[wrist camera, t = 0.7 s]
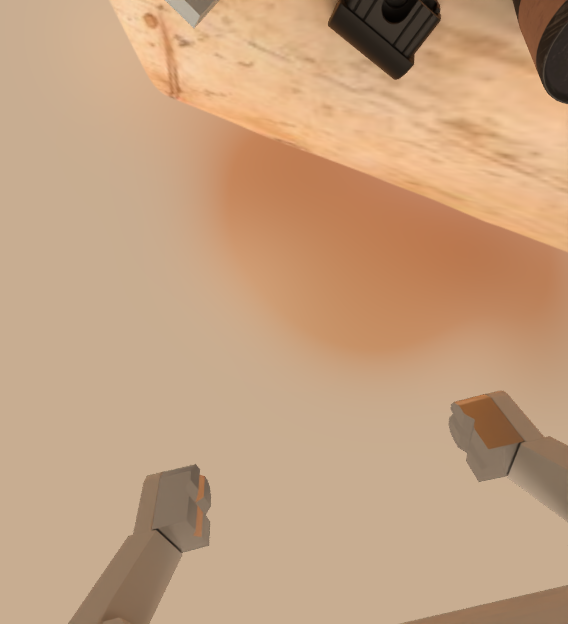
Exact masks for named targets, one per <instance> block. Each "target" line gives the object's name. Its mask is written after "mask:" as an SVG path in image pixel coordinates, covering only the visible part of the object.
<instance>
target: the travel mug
mask: <svg viewBox="0 0 568 624" xmlns="http://www.w3.org/2000/svg"><path fill="white" fill-rule="evenodd" d="M513 3H514V7H515V11H516V15H517V19H518V23H519V26H520V29H521V32H522V34H523V37H524V39H525V42H526V44H527V47H528V49H529V52H530V54H531V57H532V59H533V62H534V64H535V67H536V69H537V71H538V74H539V76H540V79H541V81H542V84H543V86H544V88H545V90H546V91H547V93H548V94H549V95H550V96H551V97H552V98H554V99H555V100H557V101H559V102H562V103H566V104H568V0H513Z"/></svg>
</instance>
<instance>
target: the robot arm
mask: <svg viewBox="0 0 568 624" xmlns="http://www.w3.org/2000/svg"><path fill="white" fill-rule="evenodd" d="M451 411H452V412H453V415H452V416H451V417H450V418H449V428H450V432H451V435H452V437H453V439H454V441H455V443H456V444H457V446H458V447H459V448H460V449H462V450H463V451H465V452H467V459H466V461H467V463H468V464H469V466H470V468H471V469H472V471H473V473H474V475H475V476H476V478H477V480H478V481H479V482H481V481H486V480H491V479H495V478H500V477H505V476H508V478H509V479H510V480H511V481H513V482H514V483H515V484H517V485H518V486H519V487H521V488H522V489H524V490H525V491H526V492H528V493H529V494H530V495H532V496H533V497H535V498H536V499H537V500H539V501H540V502H541V503H543V504H544V505H545V506H547V507H548V508H550V509H551V510H552V511H554V512H555V513H556V514H558V515H559V516H560V517H562V518H563V519H564V520H566V521H567V522H568V446H567V445H566V444H564V443H562V442H560V441H558V440H556V439H554V438H552V437H550V436H548V437H543V435H542V434H541V433H540V431H539V430H538V429H537V428H536V427H535V426H534V424H533V423H532V422H531V421H530V420H529V418H528V417H527V416H526V415H525V414H524V413H523V411H522V410H521V409H520V408H519V407H518V405H517V404H516V403H515V402H514V401H513V400H512V399H511V397H510V396H509V395H508V394H507V393H506V392H504V391H497V392H493V393H488V394H483V395H480V396H475V397H472V398H468V399H464V400H460V401H456V402H453V403H452V404H451ZM210 506H211V494H210V486H209V483H208V481H207V479H206V477H205V476H202V475H200V469H199V468H198V467H197V465H196V464H195V465H190V466H186V467H182V468H178V469H174V470H170V471H165V472H160V473H156V474H152V475H148V476H147V477H146V479H145V481H144V483H143V489H142V493H141V498H140V503H139V508H138V513H137V518H136V523H135V528H134V533H133V535H131V536H128V537H127V539H126V540H125V542H124V543H123V545H122V546H121V548H120V549H119V551H118V552H117V553H116V555H115V556H114V558H113V559H112V561H111V562H110V564H109V565H108V566H107V568H106V569H105V571H104V572H103V574H102V575H101V577H100V578H99V580H98V581H97V583H96V584H95V585H94V587H93V588H92V590H91V591H90V593H89V594H88V596H87V597H86V599H85V600H84V601H83V603H82V604H81V606H80V607H79V609H78V610H77V612H76V613H75V615H74V616H73V617H72V619H71V620H70V622H69V623H68V624H149V623H150V621H151V619H152V617H153V615H154V613H155V611H156V608H157V606H158V604H159V602H160V600H161V598H162V596H163V594H164V592H165V590H166V588H167V586H168V584H169V582H170V580H171V577H172V575H173V573H174V571H175V569H176V567H177V565H178V563H179V561H180V559H181V557H182V553H183V552H187V551H190V550H194V549H198V548H201V547H205V546H209V535H210V521H209V519H208V518H207V516H206V513H207V511H208V510H209V508H210ZM401 624H568V585H566V586H562V587H557V588H553V589H549V590H545V591H540V592H536V593H532V594H527V595H523V596H519V597H514V598H510V599H505V600H501V601H496V602H492V603H488V604H483V605H479V606H475V607H471V608H466V609H462V610H457V611H453V612H449V613H444V614H440V615H435V616H431V617H427V618H423V619H418V620H414V621H410V622H405V623H401Z"/></svg>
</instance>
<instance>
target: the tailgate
mask: <svg viewBox="0 0 568 624" xmlns="http://www.w3.org/2000/svg"><path fill="white" fill-rule="evenodd" d="M165 1H166V2H167V3H168V4H169V5H170V6H171V7H172V8H173V9H175V10H176V11H177V12H178V13H179V14H180V15H181V16H182V17H183V18H184V19H185V20H186V21H187V22H188V23H189V24H190V25H191V26H192V27H193V28H195V27H196V26H197V25H198V24H199V23H200V21H201V20H202V19H203V18H204V17H205V16H206V15H207V14H208V12H209V11H210V10H211V9H212V8H213V7H214V6H215V5H216V4H217V2H218V1H219V0H165Z"/></svg>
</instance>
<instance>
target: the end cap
mask: <svg viewBox="0 0 568 624" xmlns="http://www.w3.org/2000/svg"><path fill="white" fill-rule="evenodd" d="M440 19H441V14H440V5H439V3H438V2H437V0H338V2H337V4H336V6H335V8H334V10H333V13H332V15H331V17H330V19H329V22H328V26H329V27H330V28H331V29H333V30H334V31H335V32H336V33H337V34H339V35H340V36H341V37H342V38H344V39H345V40H346V41H347V42H349V43H350V44H351V45H352V46H354V47H355V48H356V49H357V50H358V51H360V52H361V53H362V54H363V55H365V56H366V57H367V58H368V59H370V60H371V61H372V62H373V63H375V64H376V65H377V66H378V67H380V68H381V69H382V70H383V71H384V72H386V73H387V74H388V75H389V76H391V77H392V78H393V79H395V80H397V79H399V78H401V77H402V76H403V75H404V74H406V73H407V72H408V70H409V69H410V68H411V67H412V66H413V65H414V54H415V52H416V51H417V50H418V49H419V47H420V46H421V45H422V43H423V42H424V41H425V40H426V38H427V37H428V36H429V34H430V33H431V32H432V31H433V29H434V28H435V27H436V25H437V24H438V23H439V22H440Z"/></svg>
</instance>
